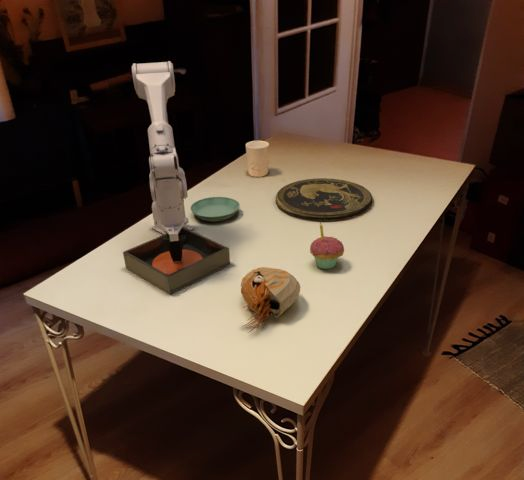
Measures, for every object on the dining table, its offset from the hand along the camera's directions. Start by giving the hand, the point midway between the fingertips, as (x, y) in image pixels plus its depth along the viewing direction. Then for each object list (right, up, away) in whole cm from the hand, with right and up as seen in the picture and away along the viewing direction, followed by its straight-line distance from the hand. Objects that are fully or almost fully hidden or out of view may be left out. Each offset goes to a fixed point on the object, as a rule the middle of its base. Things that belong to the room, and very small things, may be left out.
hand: (176, 254), depth 144 cm
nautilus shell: (+22, -16, -15) cm, 31 cm away
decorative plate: (+41, +22, +32) cm, 57 cm away
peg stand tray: (0, -3, +2) cm, 4 cm away
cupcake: (+38, -3, +1) cm, 38 cm away
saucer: (+8, +16, +27) cm, 32 cm away
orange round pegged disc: (0, -2, +2) cm, 3 cm away
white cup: (+20, +37, +52) cm, 67 cm away
